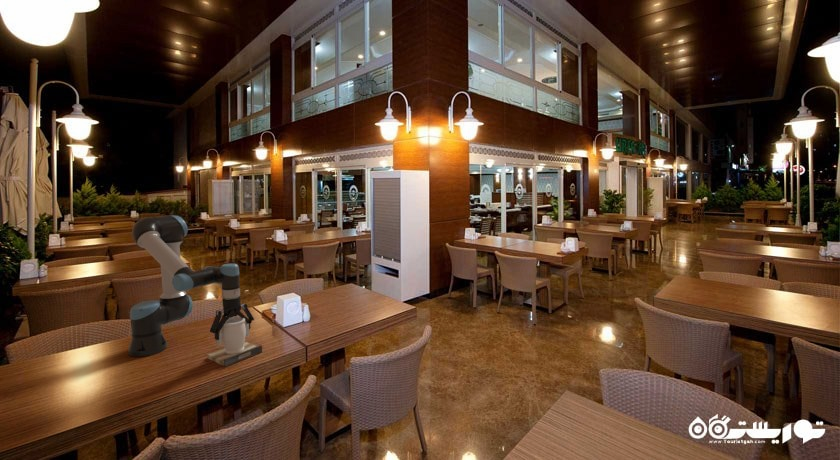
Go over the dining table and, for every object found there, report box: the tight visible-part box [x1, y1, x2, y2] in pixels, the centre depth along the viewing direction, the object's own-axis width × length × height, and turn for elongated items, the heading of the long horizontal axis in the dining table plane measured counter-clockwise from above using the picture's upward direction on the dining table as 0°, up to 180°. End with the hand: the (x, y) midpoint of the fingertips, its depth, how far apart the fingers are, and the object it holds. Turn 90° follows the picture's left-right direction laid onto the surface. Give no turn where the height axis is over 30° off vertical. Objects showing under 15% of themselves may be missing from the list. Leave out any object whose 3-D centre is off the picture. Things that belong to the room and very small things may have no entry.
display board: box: [206, 341, 263, 368], centre depth 175 cm, size 15×18×3 cm
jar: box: [220, 316, 247, 354], centre depth 174 cm, size 11×10×15 cm
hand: (233, 340), depth 175 cm, fingers open, 13 cm apart
